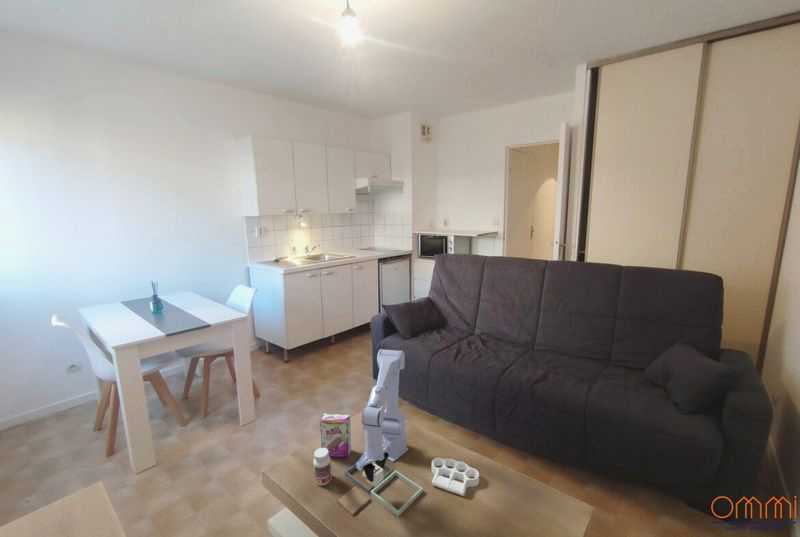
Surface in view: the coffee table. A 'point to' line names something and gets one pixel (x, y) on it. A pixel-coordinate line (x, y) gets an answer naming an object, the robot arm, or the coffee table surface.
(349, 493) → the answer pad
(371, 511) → the coffee table surface
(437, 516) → the coffee table surface
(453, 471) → the knuckle duster
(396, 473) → the green tray
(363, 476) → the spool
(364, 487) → the charcoal tray
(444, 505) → the coffee table surface
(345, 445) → the candy bar box
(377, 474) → the letter cube
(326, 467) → the pill bottle
